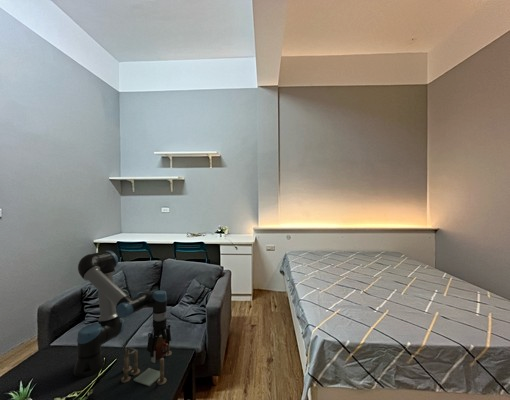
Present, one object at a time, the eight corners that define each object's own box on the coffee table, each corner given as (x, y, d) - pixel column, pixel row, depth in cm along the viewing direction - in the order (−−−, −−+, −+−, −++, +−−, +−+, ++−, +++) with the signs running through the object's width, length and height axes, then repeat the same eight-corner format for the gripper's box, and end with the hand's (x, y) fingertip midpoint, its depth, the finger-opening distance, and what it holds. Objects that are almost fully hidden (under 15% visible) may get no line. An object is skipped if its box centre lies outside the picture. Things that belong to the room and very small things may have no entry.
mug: (146, 360, 152) (146, 342, 152) (156, 352, 160) (156, 335, 160) (163, 365, 148) (163, 346, 148) (173, 356, 156) (173, 339, 156)
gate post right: (155, 383, 141) (155, 360, 141) (161, 377, 146) (161, 355, 146) (162, 385, 139) (162, 362, 139) (168, 380, 144) (168, 357, 144)
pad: (133, 380, 143) (133, 379, 143) (149, 368, 153) (149, 367, 153) (149, 386, 139) (149, 385, 139) (164, 373, 149) (164, 372, 149)
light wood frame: (110, 377, 145) (110, 354, 145) (127, 366, 156) (127, 344, 156) (125, 383, 141) (125, 359, 141) (142, 371, 151) (142, 348, 151)
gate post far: (162, 355, 167) (162, 336, 167) (167, 351, 171) (167, 332, 171) (168, 357, 165) (168, 337, 165) (173, 352, 170) (173, 334, 170)
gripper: (148, 327, 143) (148, 370, 143) (177, 313, 160) (177, 352, 160) (139, 323, 147) (139, 365, 147) (169, 311, 164) (169, 348, 164)
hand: (159, 358), depth 153 cm, fingers closed on mug, 7 cm apart
